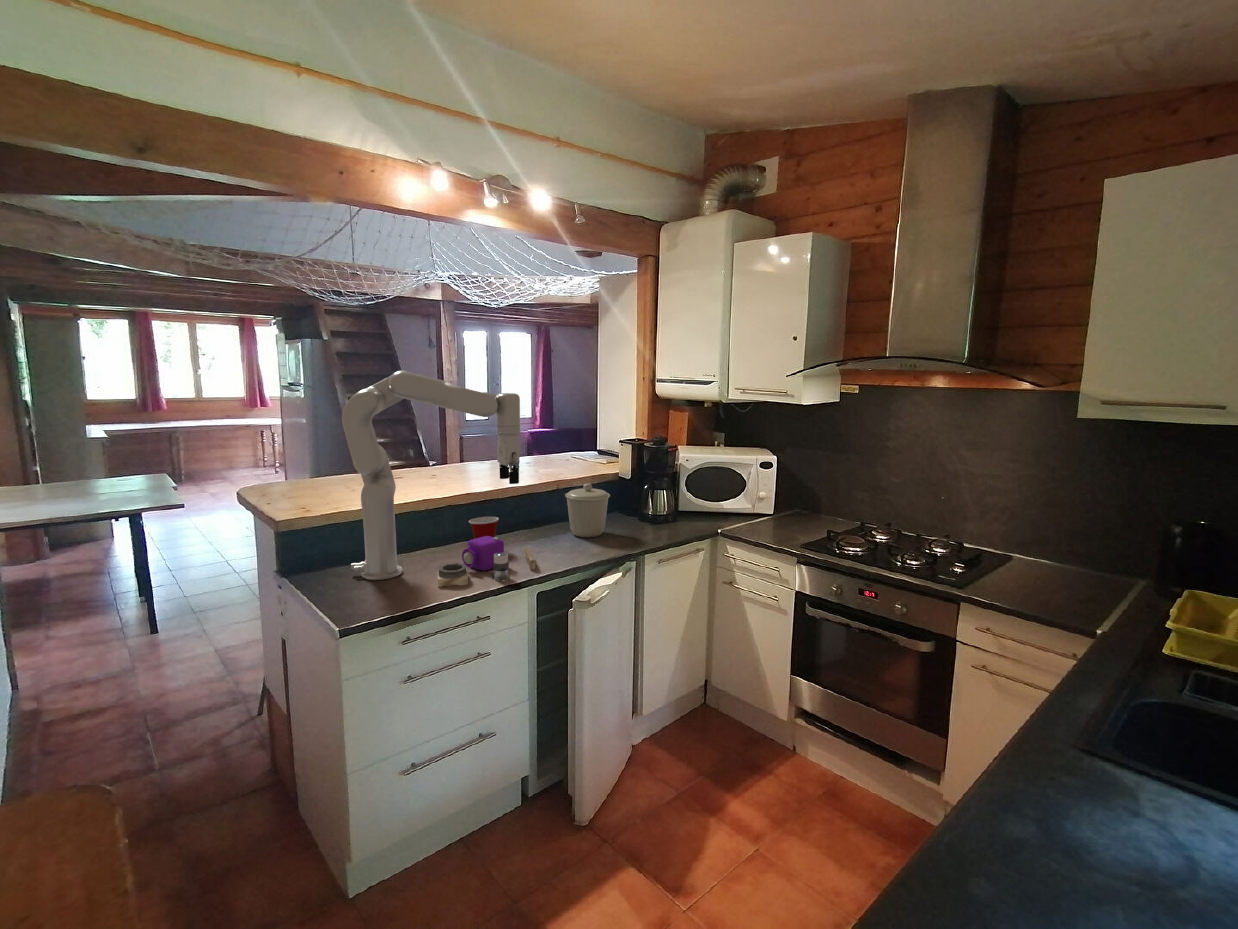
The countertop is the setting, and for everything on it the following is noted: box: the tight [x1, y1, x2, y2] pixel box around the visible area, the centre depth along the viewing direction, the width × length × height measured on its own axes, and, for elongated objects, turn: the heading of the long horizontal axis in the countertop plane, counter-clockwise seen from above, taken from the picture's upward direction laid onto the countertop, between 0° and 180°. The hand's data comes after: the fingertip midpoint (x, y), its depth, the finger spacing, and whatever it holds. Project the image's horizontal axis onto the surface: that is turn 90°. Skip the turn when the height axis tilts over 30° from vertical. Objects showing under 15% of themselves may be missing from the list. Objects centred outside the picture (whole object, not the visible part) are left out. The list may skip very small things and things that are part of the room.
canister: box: [564, 483, 611, 538], centre depth 246 cm, size 18×18×21 cm
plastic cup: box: [468, 516, 500, 539], centre depth 224 cm, size 11×11×12 cm
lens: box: [493, 552, 510, 582], centre depth 195 cm, size 5×5×8 cm
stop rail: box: [524, 547, 536, 571], centre depth 210 cm, size 2×14×4 cm, turn 16°
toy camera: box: [461, 536, 505, 572], centre depth 205 cm, size 11×14×10 cm
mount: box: [437, 562, 469, 588], centre depth 192 cm, size 9×9×4 cm
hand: (509, 481), depth 205 cm, fingers open, 9 cm apart
